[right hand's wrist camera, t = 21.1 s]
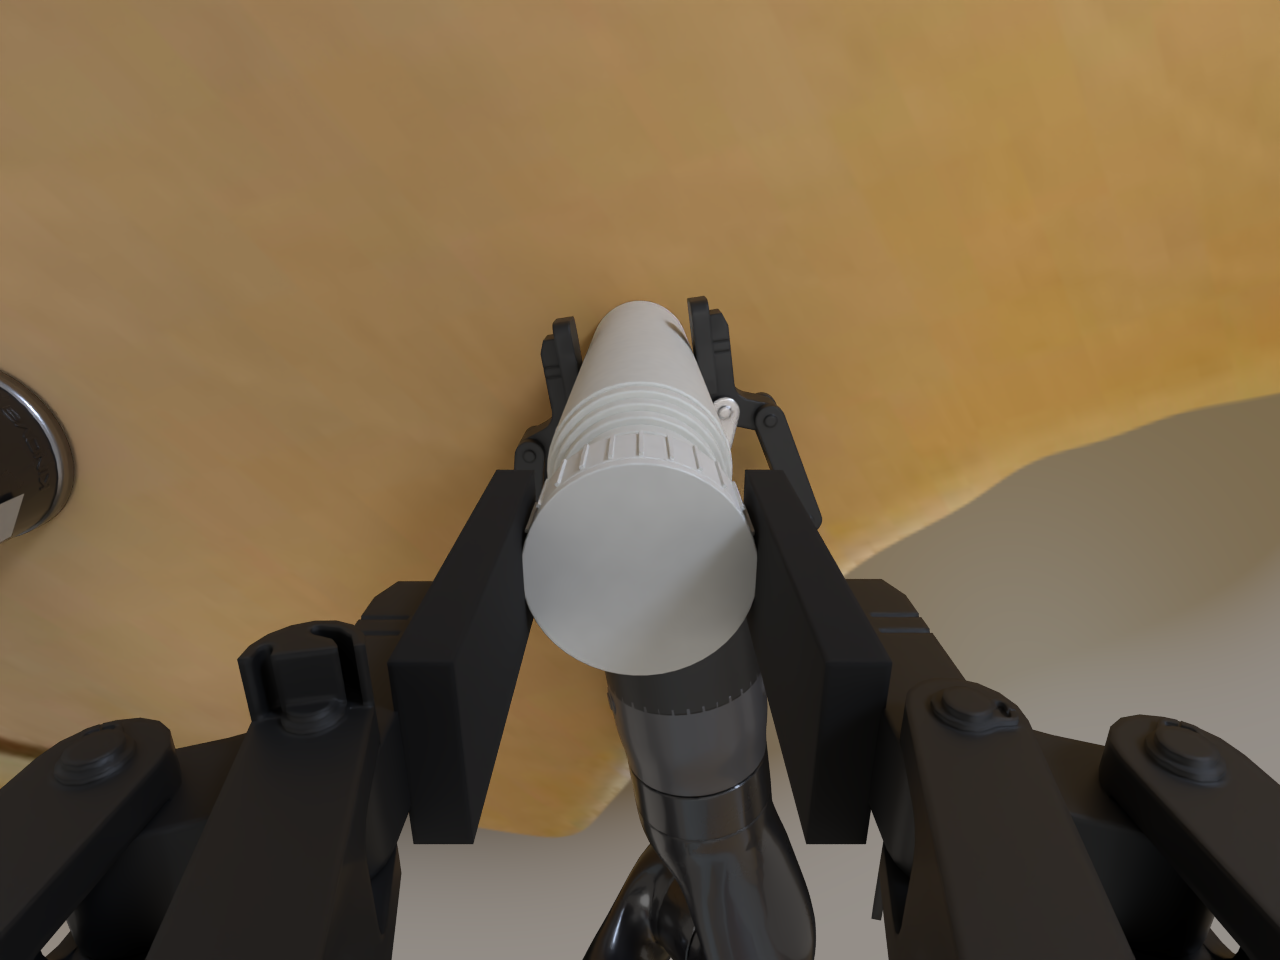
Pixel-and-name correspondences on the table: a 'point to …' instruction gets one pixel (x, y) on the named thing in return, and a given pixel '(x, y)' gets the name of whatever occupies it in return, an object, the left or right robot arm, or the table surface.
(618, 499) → the cap
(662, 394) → the bottle
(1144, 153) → the table surface
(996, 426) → the table surface
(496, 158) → the table surface
